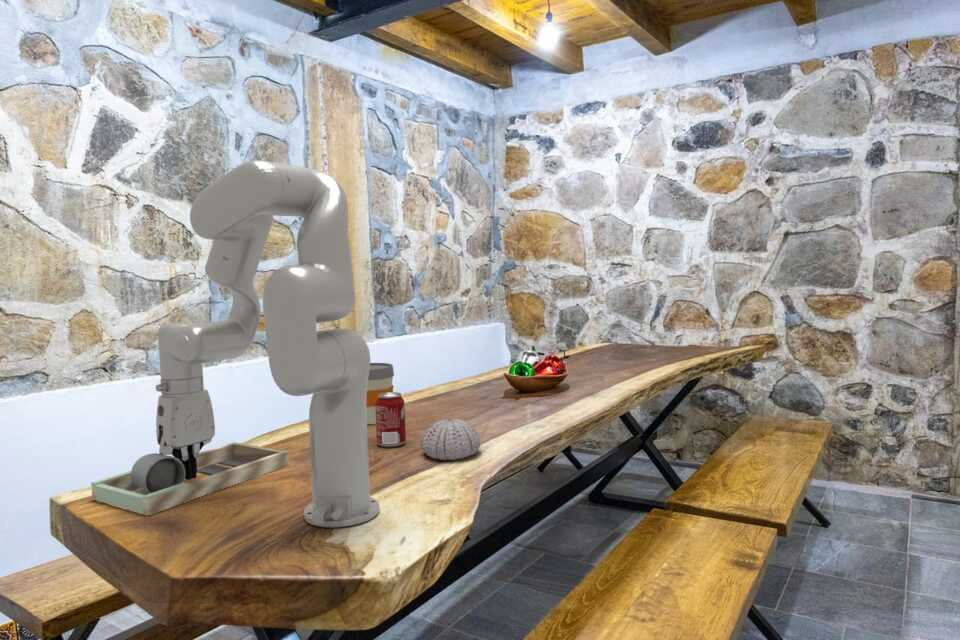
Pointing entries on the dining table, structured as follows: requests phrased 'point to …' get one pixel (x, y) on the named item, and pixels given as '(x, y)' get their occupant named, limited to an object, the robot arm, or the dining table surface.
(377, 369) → the reusable coffee cup
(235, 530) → the dining table surface
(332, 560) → the dining table surface
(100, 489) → the shallow mint tray
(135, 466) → the ceramic mug
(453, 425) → the sea urchin shell
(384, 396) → the soda can
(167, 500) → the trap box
